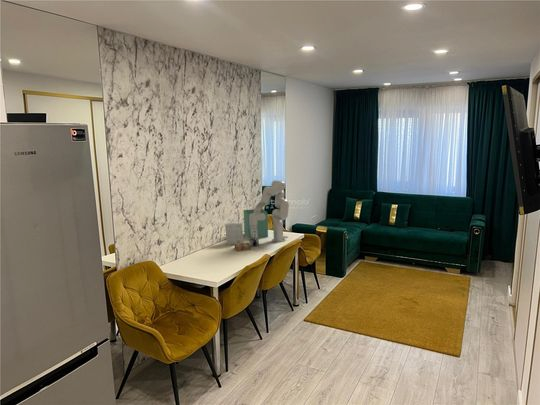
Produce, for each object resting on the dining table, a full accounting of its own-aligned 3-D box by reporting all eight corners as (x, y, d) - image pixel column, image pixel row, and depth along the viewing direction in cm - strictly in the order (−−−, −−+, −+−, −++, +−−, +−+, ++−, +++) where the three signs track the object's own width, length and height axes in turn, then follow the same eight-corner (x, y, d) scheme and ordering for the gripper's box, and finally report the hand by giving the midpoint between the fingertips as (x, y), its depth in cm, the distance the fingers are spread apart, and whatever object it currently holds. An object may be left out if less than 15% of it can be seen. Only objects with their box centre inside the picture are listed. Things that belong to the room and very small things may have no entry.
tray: (247, 246, 363) (247, 242, 363) (250, 249, 352) (249, 245, 351) (234, 247, 360) (234, 243, 360) (237, 251, 349) (237, 247, 348)
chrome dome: (262, 246, 364) (262, 244, 364) (263, 247, 360) (263, 246, 360) (258, 246, 363) (258, 245, 363) (259, 247, 359) (259, 246, 359)
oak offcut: (247, 245, 369) (247, 242, 369) (249, 246, 366) (249, 243, 365) (243, 245, 367) (243, 242, 366) (245, 246, 364) (245, 243, 363)
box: (244, 233, 414) (243, 210, 410) (263, 232, 419) (262, 208, 415) (248, 238, 392) (247, 214, 387) (268, 237, 397) (267, 212, 392)
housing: (257, 244, 370) (257, 237, 369) (258, 245, 365) (258, 239, 364) (249, 245, 368) (249, 238, 366) (250, 246, 363) (250, 239, 362)
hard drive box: (243, 242, 379) (242, 222, 376) (242, 244, 372) (241, 224, 368) (227, 242, 381) (227, 222, 378) (226, 244, 373) (225, 224, 370)
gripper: (259, 228, 356) (260, 246, 359) (255, 224, 372) (255, 242, 375) (251, 228, 354) (252, 247, 357) (247, 225, 370) (248, 243, 373)
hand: (254, 244), depth 366 cm, fingers closed on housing, 5 cm apart
